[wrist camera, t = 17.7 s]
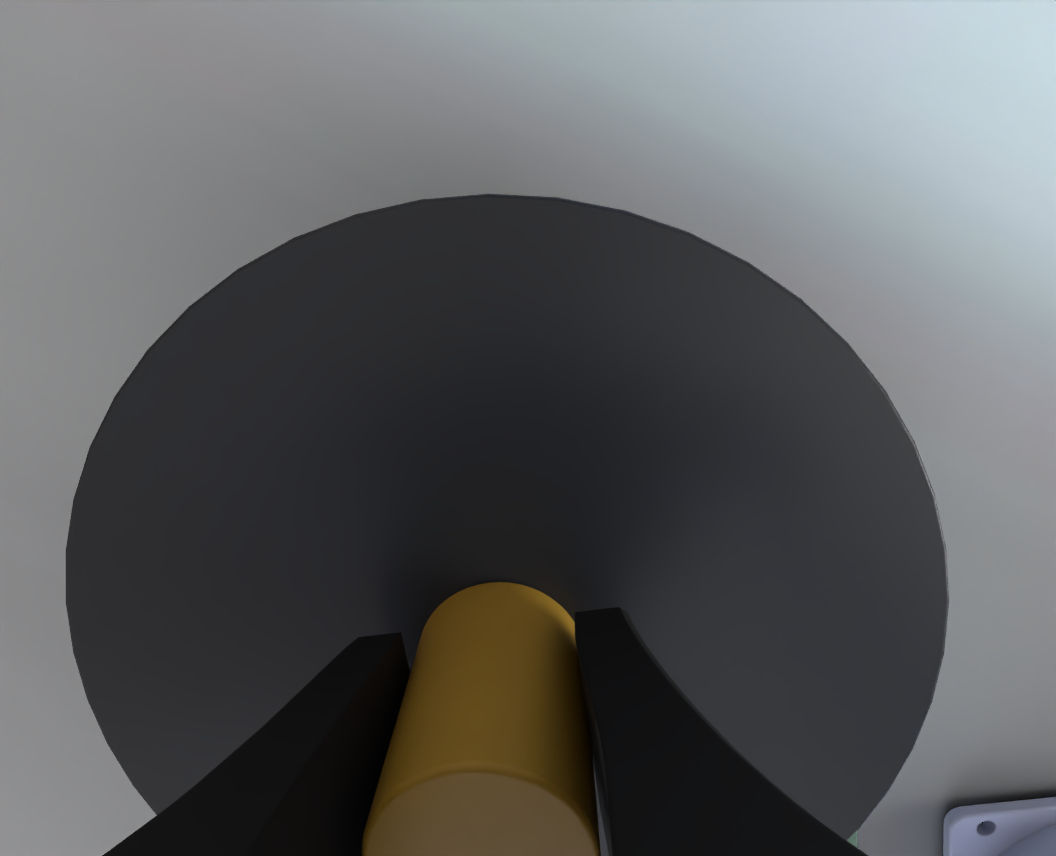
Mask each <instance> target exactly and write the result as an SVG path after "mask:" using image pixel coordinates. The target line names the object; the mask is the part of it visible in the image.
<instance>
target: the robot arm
mask: <svg viewBox="0 0 1056 856" xmlns="http://www.w3.org/2000/svg"><path fill="white" fill-rule="evenodd" d="M575 641H576V648H577V654H578V661H579V668H580V675H581V682H582V689H583V696H584V703H585V709H586V715H587V720H588V725H589V731H590V737H591V743H592V754H593V765H594V771H595V778H596V785H597V792H598V799H599V806H600V812H601V817H602V822H603V827H604V833H605V838H606V843H607V848H608V853H609V856H868V855H866V854H865V853H864V852H862V851H861V850H859V849H858V848H856V847H855V846H854V845H852V844H851V843H849V842H848V841H847V840H845V839H844V838H842V837H841V836H840V835H838V834H837V833H835V832H834V831H832V830H831V829H830V828H828V827H827V826H825V825H824V824H823V823H822V822H820V821H819V820H818V819H817V818H815V817H814V816H813V815H812V814H810V813H809V812H808V811H807V810H805V809H804V808H803V807H802V806H800V805H799V804H798V803H797V802H796V801H794V800H793V799H792V798H791V797H789V796H788V795H787V794H786V793H784V792H783V791H782V790H781V789H780V788H779V787H778V786H776V785H775V784H774V783H773V782H772V781H771V780H770V779H768V778H767V777H766V776H765V775H764V774H763V773H762V772H760V771H759V770H758V769H757V768H756V767H755V766H754V765H753V764H752V763H750V762H749V761H748V760H747V759H746V758H745V757H744V756H743V755H742V754H741V753H740V752H739V751H738V750H737V749H736V748H735V747H734V746H733V745H732V744H731V743H730V742H729V741H728V740H727V739H726V738H725V737H724V736H723V735H722V734H721V733H720V732H719V731H718V730H717V729H716V728H715V727H714V726H713V725H712V724H711V723H710V722H709V721H708V720H707V719H706V718H705V717H704V715H703V714H702V713H701V712H700V711H699V710H698V709H697V708H696V707H695V705H694V704H693V703H692V702H691V701H690V700H689V699H688V697H687V696H686V695H685V694H684V693H683V691H682V690H681V689H680V688H679V687H678V685H677V684H676V683H675V682H674V681H673V679H672V678H671V677H670V676H669V675H668V673H667V672H666V671H665V670H664V668H663V667H662V666H661V664H660V663H659V662H658V660H657V659H656V658H655V656H654V655H653V654H652V652H651V651H650V649H649V648H648V646H647V645H646V644H645V642H644V641H643V639H642V638H641V636H640V634H639V633H638V631H637V630H636V628H635V626H634V624H633V622H632V621H631V618H630V616H629V614H628V613H627V612H626V611H624V610H623V609H622V608H620V607H614V608H605V609H596V610H588V611H579V612H575ZM409 676H410V669H409V665H408V660H407V656H406V651H405V647H404V642H403V638H402V633H401V632H398V633H389V634H381V635H372V636H363V637H358V638H357V639H355V640H354V641H353V642H352V643H351V644H349V645H348V646H347V647H346V648H345V649H344V650H343V651H342V652H340V653H339V654H338V655H337V656H336V657H335V658H334V659H333V660H332V661H331V662H330V663H329V664H328V665H327V666H326V667H325V668H324V669H322V670H321V671H320V672H319V673H318V674H317V675H316V676H315V677H314V678H313V679H312V680H311V681H310V682H309V683H308V684H307V685H306V686H305V687H304V688H303V689H302V690H301V691H300V692H298V693H297V694H296V695H295V696H294V697H293V698H292V699H291V700H290V701H289V702H288V703H287V704H286V705H285V706H284V707H283V708H282V709H280V710H279V711H278V712H277V713H276V714H275V715H274V716H273V717H272V718H271V719H270V720H269V721H268V722H267V723H266V724H265V725H263V726H262V727H261V728H260V729H259V730H258V731H257V732H256V733H255V734H253V735H252V736H251V737H250V738H249V739H248V740H247V741H245V742H244V743H243V744H242V745H241V746H240V747H238V748H237V749H236V750H235V751H234V752H233V753H232V754H230V755H229V756H228V757H227V758H226V759H225V760H223V761H222V762H221V763H220V764H219V765H218V766H217V767H215V768H214V769H213V770H212V771H211V772H210V773H209V774H207V775H206V776H205V777H204V778H203V779H202V780H200V781H199V782H198V783H197V784H196V785H195V786H193V787H192V788H191V789H190V790H188V791H187V792H186V793H185V794H184V795H182V796H181V797H180V798H179V799H177V800H176V801H175V802H174V803H172V804H171V805H170V806H168V807H167V808H166V809H165V810H163V811H162V812H161V813H159V814H158V815H157V816H156V817H154V818H153V819H152V820H150V821H149V822H148V823H146V824H145V825H144V826H142V827H141V828H139V829H138V830H137V831H135V832H134V833H133V834H131V835H130V836H129V837H127V838H126V839H125V840H123V841H122V842H121V843H119V844H118V845H116V846H115V847H114V848H112V849H111V850H110V851H108V852H107V853H105V854H104V855H103V856H362V839H363V833H364V830H365V826H366V823H367V819H368V816H369V812H370V809H371V806H372V802H373V799H374V795H375V792H376V788H377V785H378V782H379V778H380V775H381V771H382V768H383V765H384V761H385V758H386V754H387V751H388V747H389V744H390V741H391V737H392V734H393V730H394V727H395V723H396V720H397V717H398V713H399V710H400V706H401V703H402V700H403V696H404V693H405V689H406V686H407V682H408V679H409ZM981 822H983V823H981ZM980 823H981V824H980ZM943 856H1056V797H1049V798H1039V799H1029V800H1019V801H1009V802H999V803H989V804H979V805H969V806H960V807H956V808H954V809H952V810H950V811H949V812H948V813H947V815H946V816H945V819H944V830H943Z"/></svg>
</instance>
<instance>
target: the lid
mask: <svg viewBox="0 0 1056 856" xmlns="http://www.w3.org/2000/svg"><path fill="white" fill-rule="evenodd" d="M66 606H67V612H68V619H69V626H70V633H71V639H72V646H73V652H74V656H75V659H76V662H77V666H78V669H79V672H80V676H81V679H82V683H83V686H84V689H85V693H86V696H87V699H88V702H89V704H90V706H91V708H92V710H93V713H94V715H95V717H96V719H97V722H98V724H99V726H100V728H101V730H102V733H103V735H104V737H105V739H106V741H107V744H108V745H109V747H110V749H111V750H112V752H113V754H114V755H115V757H116V758H117V760H118V762H119V763H120V765H121V767H122V768H123V770H124V771H125V773H126V775H127V776H128V778H129V779H130V781H131V783H132V784H133V786H134V787H135V788H136V790H137V791H138V792H139V793H140V795H141V796H142V797H143V798H144V800H145V801H146V802H147V803H148V805H149V806H150V807H151V808H152V810H153V811H154V812H155V813H156V815H158V814H159V813H161V812H162V811H163V810H165V809H166V808H167V807H168V806H170V805H171V804H172V803H174V802H175V801H176V800H177V799H179V798H180V797H181V796H182V795H184V794H185V793H186V792H187V791H188V790H190V789H191V788H192V787H193V786H195V785H196V784H197V783H198V782H199V781H200V780H202V779H203V778H204V777H205V776H206V775H207V774H209V773H210V772H211V771H212V770H213V769H214V768H215V767H217V766H218V765H219V764H220V763H221V762H222V761H223V760H225V759H226V758H227V757H228V756H229V755H230V754H232V753H233V752H234V751H235V750H236V749H237V748H238V747H240V746H241V745H242V744H243V743H244V742H245V741H247V740H248V739H249V738H250V737H251V736H252V735H253V734H255V733H256V732H257V731H258V730H259V729H260V728H261V727H262V726H263V725H265V724H266V723H267V722H268V721H269V720H270V719H271V718H272V717H273V716H274V715H275V714H276V713H277V712H278V711H279V710H280V709H282V708H283V707H284V706H285V705H286V704H287V703H288V702H289V701H290V700H291V699H292V698H293V697H294V696H295V695H296V694H297V693H298V692H300V691H301V690H302V689H303V688H304V687H305V686H306V685H307V684H308V683H309V682H310V681H311V680H312V679H313V678H314V677H315V676H316V675H317V674H318V673H319V672H320V671H321V670H322V669H324V668H325V667H326V666H327V665H328V664H329V663H330V662H331V661H332V660H333V659H334V658H335V657H336V656H337V655H338V654H339V653H340V652H342V651H343V650H344V649H345V648H346V647H347V646H348V645H349V644H351V643H352V642H353V641H354V640H355V639H357V638H358V637H363V636H372V635H381V634H389V633H398V632H401V633H402V638H403V642H404V647H405V651H406V656H407V660H408V665H409V669H410V676H409V679H408V682H407V686H406V689H405V693H404V696H403V700H402V703H401V706H400V710H399V713H398V717H397V720H396V723H395V727H394V730H393V734H392V737H391V741H390V744H389V747H388V751H387V754H386V758H385V761H384V765H383V768H382V771H381V775H380V778H379V782H378V785H377V788H376V792H375V795H374V799H373V802H372V806H371V809H370V812H369V816H368V819H367V823H366V826H365V830H364V833H363V839H362V856H609V853H608V848H607V843H606V838H605V833H604V827H603V822H602V817H601V812H600V806H599V799H598V792H597V785H596V778H595V771H594V765H593V754H592V743H591V737H590V731H589V725H588V720H587V715H586V709H585V703H584V696H583V689H582V682H581V675H580V668H579V661H578V654H577V648H576V641H575V612H579V611H588V610H596V609H605V608H614V607H620V608H622V609H623V610H624V611H626V612H627V613H628V614H629V616H630V618H631V621H632V622H633V624H634V626H635V628H636V630H637V631H638V633H639V634H640V636H641V638H642V639H643V641H644V642H645V644H646V645H647V646H648V648H649V649H650V651H651V652H652V654H653V655H654V656H655V658H656V659H657V660H658V662H659V663H660V664H661V666H662V667H663V668H664V670H665V671H666V672H667V673H668V675H669V676H670V677H671V678H672V679H673V681H674V682H675V683H676V684H677V685H678V687H679V688H680V689H681V690H682V691H683V693H684V694H685V695H686V696H687V697H688V699H689V700H690V701H691V702H692V703H693V704H694V705H695V707H696V708H697V709H698V710H699V711H700V712H701V713H702V714H703V715H704V717H705V718H706V719H707V720H708V721H709V722H710V723H711V724H712V725H713V726H714V727H715V728H716V729H717V730H718V731H719V732H720V733H721V734H722V735H723V736H724V737H725V738H726V739H727V740H728V741H729V742H730V743H731V744H732V745H733V746H734V747H735V748H736V749H737V750H738V751H739V752H740V753H741V754H742V755H743V756H744V757H745V758H746V759H747V760H748V761H749V762H750V763H752V764H753V765H754V766H755V767H756V768H757V769H758V770H759V771H760V772H762V773H763V774H764V775H765V776H766V777H767V778H768V779H770V780H771V781H772V782H773V783H774V784H775V785H776V786H778V787H779V788H780V789H781V790H782V791H783V792H784V793H786V794H787V795H788V796H789V797H791V798H792V799H793V800H794V801H796V802H797V803H798V804H799V805H800V806H802V807H803V808H804V809H805V810H807V811H808V812H809V813H810V814H812V815H813V816H814V817H815V818H817V819H818V820H819V821H820V822H822V823H823V824H824V825H825V826H827V827H828V828H830V829H831V830H832V831H834V832H835V833H837V834H838V835H840V836H841V837H842V838H844V839H845V840H848V839H849V838H850V837H851V836H852V835H853V834H854V833H855V832H856V831H857V830H858V829H859V828H860V827H861V825H862V824H863V823H864V821H865V820H866V819H867V818H868V816H869V815H870V814H871V812H872V811H873V810H874V808H875V807H876V806H877V805H878V803H879V802H880V801H881V799H882V798H883V797H884V796H885V794H886V793H887V792H888V790H889V788H890V787H891V785H892V783H893V782H894V780H895V778H896V776H897V775H898V773H899V771H900V770H901V768H902V766H903V764H904V763H905V761H906V759H907V758H908V756H909V754H910V752H911V751H912V749H913V747H914V744H915V742H916V739H917V737H918V735H919V732H920V730H921V727H922V725H923V722H924V720H925V717H926V715H927V713H928V710H929V708H930V705H931V703H932V699H933V695H934V691H935V687H936V683H937V679H938V675H939V671H940V667H941V663H942V659H943V655H944V648H945V637H946V627H947V617H948V606H949V594H948V576H947V558H946V547H945V542H944V537H943V533H942V528H941V523H940V518H939V514H938V509H937V504H936V500H935V495H934V492H933V489H932V487H931V484H930V481H929V479H928V476H927V474H926V471H925V468H924V466H923V463H922V460H921V458H920V455H919V453H918V450H917V447H916V445H915V442H914V440H913V438H912V437H911V435H910V433H909V431H908V430H907V428H906V426H905V424H904V422H903V421H902V419H901V417H900V415H899V414H898V412H897V410H896V408H895V407H894V405H893V403H892V401H891V400H890V398H889V396H888V394H887V393H886V391H885V389H884V388H883V387H882V386H881V384H880V383H879V382H878V381H877V379H876V378H875V377H874V376H873V374H872V373H871V372H870V370H869V369H868V368H867V367H866V365H865V364H864V363H863V362H862V360H861V359H860V358H859V356H858V355H857V354H856V353H855V351H854V350H853V349H852V348H851V346H850V345H849V344H848V343H847V342H846V341H845V340H844V339H843V338H842V337H841V336H840V335H839V334H838V333H837V332H836V331H835V330H834V329H833V328H831V327H830V326H829V325H828V324H827V323H826V322H825V321H824V320H823V319H822V318H821V317H820V316H819V315H818V314H817V313H816V312H814V311H813V310H812V309H811V308H810V307H809V306H808V305H807V304H806V303H805V302H804V301H803V300H802V299H800V298H799V297H797V296H796V295H794V294H793V293H792V292H790V291H789V290H787V289H786V288H784V287H783V286H782V285H780V284H779V283H777V282H776V281H774V280H773V279H772V278H770V277H769V276H767V275H766V274H764V273H763V272H762V271H760V270H759V269H757V268H756V267H754V266H753V265H752V264H750V263H749V262H747V261H745V260H743V259H741V258H739V257H737V256H735V255H733V254H731V253H729V252H727V251H725V250H723V249H721V248H719V247H717V246H715V245H713V244H711V243H709V242H707V241H705V240H703V239H701V238H699V237H697V236H695V235H693V234H691V233H689V232H686V231H684V230H681V229H678V228H675V227H672V226H669V225H666V224H663V223H660V222H657V221H654V220H651V219H648V218H645V217H643V216H640V215H637V214H634V213H631V212H628V211H625V210H620V209H614V208H609V207H604V206H599V205H594V204H589V203H583V202H578V201H573V200H568V199H563V198H557V197H539V196H520V195H501V194H481V195H469V196H457V197H446V198H434V199H422V200H417V201H412V202H408V203H404V204H399V205H395V206H390V207H386V208H382V209H377V210H373V211H368V212H364V213H360V214H355V215H353V216H350V217H347V218H345V219H342V220H339V221H337V222H334V223H332V224H329V225H326V226H324V227H321V228H318V229H316V230H313V231H311V232H308V233H305V234H303V235H300V236H298V237H295V238H293V239H291V240H289V241H287V242H286V243H284V244H282V245H280V246H278V247H277V248H275V249H273V250H271V251H269V252H268V253H266V254H264V255H262V256H260V257H259V258H257V259H255V260H253V261H251V262H250V263H248V264H246V265H244V266H242V267H241V268H239V269H237V270H236V271H235V272H233V273H232V274H231V275H230V276H228V277H227V278H226V279H224V280H223V281H222V282H220V283H219V284H218V285H217V286H215V287H214V288H213V289H211V290H210V291H209V292H207V293H206V294H205V295H204V296H202V297H201V298H200V299H198V300H197V301H196V302H194V303H193V304H192V305H191V306H189V307H188V308H187V309H186V310H185V311H184V312H183V313H182V314H181V316H180V317H179V318H178V319H177V320H176V321H175V322H174V323H173V324H172V325H171V326H170V327H169V328H168V329H167V330H166V331H165V332H164V333H163V334H162V335H161V336H160V337H159V338H158V339H157V341H156V342H155V343H154V344H153V345H152V346H151V347H150V348H149V349H148V350H147V351H146V353H145V354H144V356H143V357H142V359H141V360H140V361H139V363H138V364H137V366H136V367H135V369H134V370H133V371H132V373H131V374H130V376H129V377H128V379H127V380H126V381H125V383H124V384H123V386H122V387H121V388H120V390H119V391H118V393H117V394H116V396H115V397H114V399H113V401H112V403H111V405H110V407H109V409H108V411H107V413H106V415H105V417H104V420H103V422H102V424H101V426H100V428H99V430H98V432H97V434H96V436H95V438H94V440H93V442H92V444H91V446H90V448H89V452H88V455H87V458H86V461H85V464H84V468H83V471H82V474H81V477H80V480H79V484H78V487H77V490H76V493H75V496H74V500H73V507H72V513H71V520H70V527H69V533H68V540H67V547H66Z"/></svg>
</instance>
